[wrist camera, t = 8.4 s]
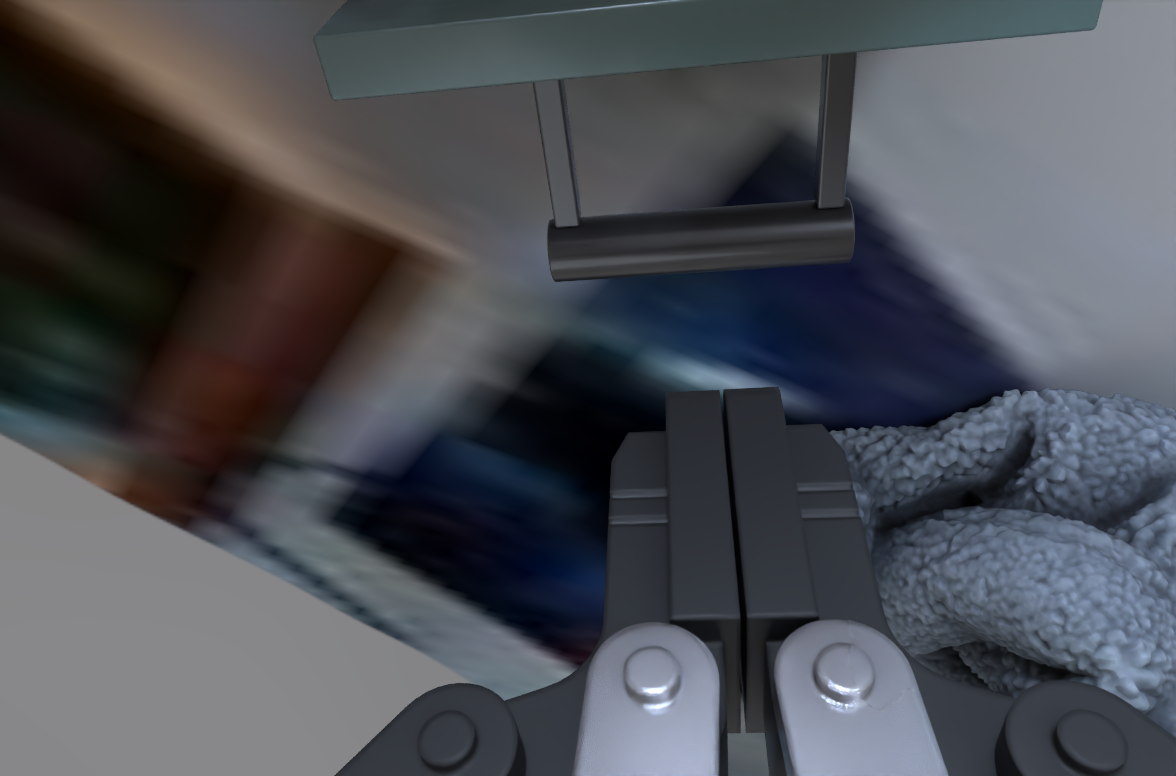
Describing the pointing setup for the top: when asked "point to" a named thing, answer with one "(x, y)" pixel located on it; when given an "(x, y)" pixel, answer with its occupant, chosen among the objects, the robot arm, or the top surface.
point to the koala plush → (1029, 542)
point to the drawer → (651, 43)
